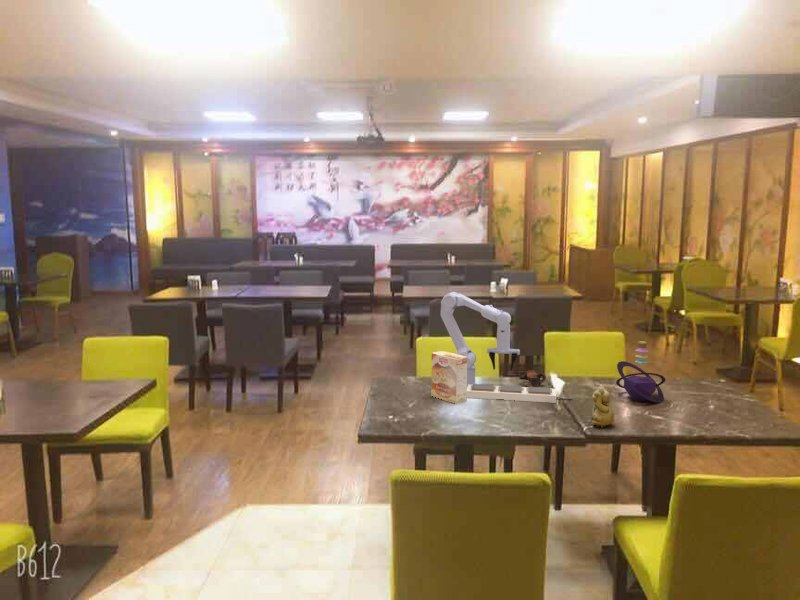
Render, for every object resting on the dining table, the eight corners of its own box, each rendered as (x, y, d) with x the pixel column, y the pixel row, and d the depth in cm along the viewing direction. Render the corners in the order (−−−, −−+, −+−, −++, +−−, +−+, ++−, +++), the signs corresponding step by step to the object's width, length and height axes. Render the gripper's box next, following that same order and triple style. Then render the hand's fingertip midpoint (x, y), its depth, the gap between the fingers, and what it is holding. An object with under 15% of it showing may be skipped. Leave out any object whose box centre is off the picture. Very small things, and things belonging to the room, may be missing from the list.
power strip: (465, 397, 276) (466, 391, 275) (468, 390, 286) (468, 384, 286) (573, 403, 267) (573, 396, 267) (571, 396, 278) (571, 389, 277)
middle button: (499, 394, 275) (499, 390, 274) (500, 389, 282) (500, 385, 281) (521, 395, 273) (521, 391, 273) (521, 391, 280) (521, 386, 280)
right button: (528, 395, 272) (528, 391, 272) (528, 391, 279) (528, 386, 279) (550, 397, 270) (550, 392, 270) (549, 392, 277) (550, 387, 277)
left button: (471, 392, 277) (471, 388, 277) (473, 388, 284) (473, 383, 284) (493, 394, 275) (493, 389, 275) (494, 389, 282) (494, 385, 282)
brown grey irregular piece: (521, 389, 290) (517, 372, 293) (523, 393, 299) (518, 376, 302) (547, 383, 288) (543, 366, 291) (548, 387, 297) (544, 370, 300)
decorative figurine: (592, 419, 247) (593, 381, 245) (614, 422, 244) (616, 384, 242) (589, 427, 239) (591, 388, 236) (613, 430, 236) (614, 390, 233)
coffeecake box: (430, 396, 278) (430, 352, 275) (442, 393, 283) (442, 350, 280) (455, 404, 267) (456, 358, 264) (467, 401, 272) (467, 356, 269)
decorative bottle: (657, 410, 259) (660, 349, 255) (605, 400, 271) (608, 343, 267) (672, 397, 276) (675, 340, 273) (623, 388, 289) (625, 334, 285)
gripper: (486, 340, 282) (485, 370, 284) (519, 342, 279) (519, 372, 281) (487, 337, 289) (487, 366, 291) (520, 338, 286) (519, 368, 288)
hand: (502, 369), depth 287 cm, fingers open, 7 cm apart
